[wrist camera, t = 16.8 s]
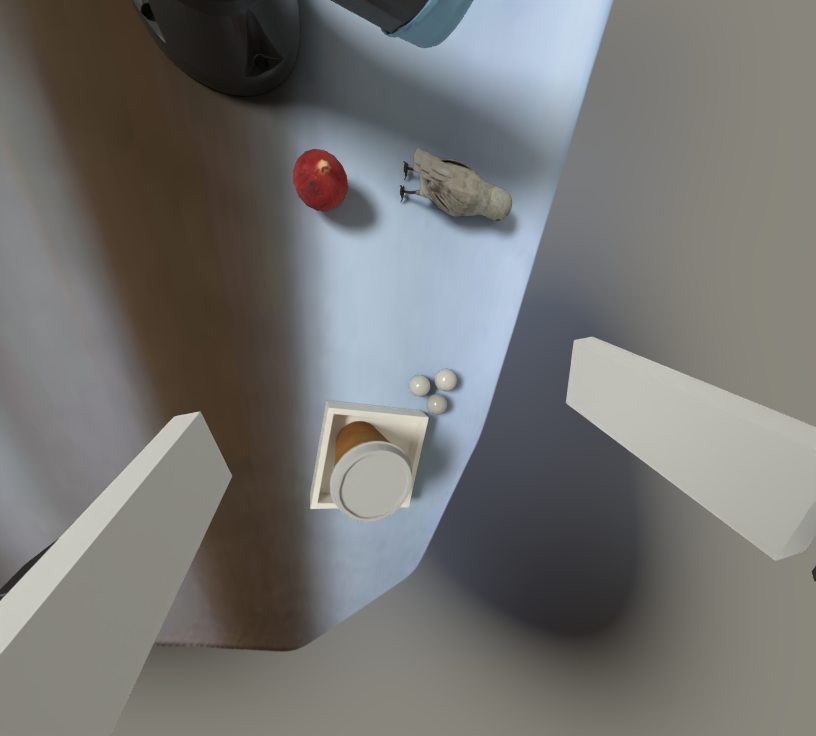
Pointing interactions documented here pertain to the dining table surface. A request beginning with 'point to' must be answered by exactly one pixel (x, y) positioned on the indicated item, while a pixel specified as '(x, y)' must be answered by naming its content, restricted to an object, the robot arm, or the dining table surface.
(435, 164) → the decorative bird
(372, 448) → the disposable coffee cup
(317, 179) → the red round fruit
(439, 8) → the robot arm
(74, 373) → the dining table surface
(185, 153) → the dining table surface
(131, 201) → the dining table surface
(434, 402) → the pebble
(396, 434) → the dish
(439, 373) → the pebble
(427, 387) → the pebble
